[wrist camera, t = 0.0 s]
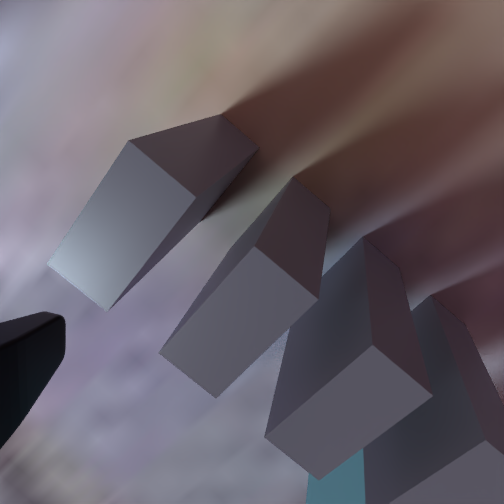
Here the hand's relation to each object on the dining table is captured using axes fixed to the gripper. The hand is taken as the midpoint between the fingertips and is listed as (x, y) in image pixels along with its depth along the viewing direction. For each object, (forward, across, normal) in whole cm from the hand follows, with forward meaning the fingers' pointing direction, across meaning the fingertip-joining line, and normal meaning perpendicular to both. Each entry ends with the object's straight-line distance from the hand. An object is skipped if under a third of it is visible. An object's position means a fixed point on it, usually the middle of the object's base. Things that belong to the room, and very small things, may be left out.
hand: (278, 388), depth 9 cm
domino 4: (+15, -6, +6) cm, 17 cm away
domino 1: (+15, +6, 0) cm, 16 cm away
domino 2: (+15, +2, +2) cm, 15 cm away
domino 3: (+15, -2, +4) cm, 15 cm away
